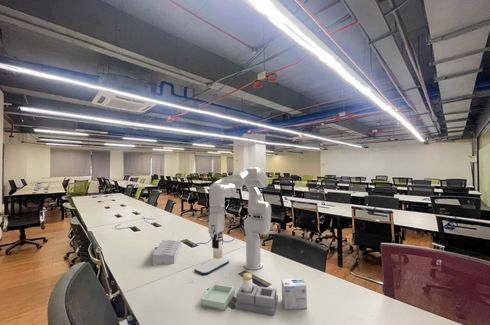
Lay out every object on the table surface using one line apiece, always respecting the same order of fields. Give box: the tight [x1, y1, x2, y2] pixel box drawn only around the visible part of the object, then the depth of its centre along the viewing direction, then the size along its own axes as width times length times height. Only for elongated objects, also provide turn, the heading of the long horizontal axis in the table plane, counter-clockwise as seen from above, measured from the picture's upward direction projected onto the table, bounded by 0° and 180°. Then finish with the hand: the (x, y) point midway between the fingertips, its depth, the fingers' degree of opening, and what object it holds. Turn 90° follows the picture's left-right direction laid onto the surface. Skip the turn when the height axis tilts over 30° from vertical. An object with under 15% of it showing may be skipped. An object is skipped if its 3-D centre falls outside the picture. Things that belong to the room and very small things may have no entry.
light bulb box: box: [280, 277, 308, 310], centre depth 101 cm, size 11×7×11 cm, turn 92°
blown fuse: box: [212, 233, 223, 259], centre depth 107 cm, size 4×4×11 cm
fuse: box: [242, 272, 253, 294], centre depth 104 cm, size 4×4×11 cm
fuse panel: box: [234, 283, 279, 316], centre depth 102 cm, size 12×18×6 cm, turn 73°
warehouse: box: [151, 239, 182, 266], centre depth 162 cm, size 30×14×8 cm, turn 8°
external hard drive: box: [194, 256, 229, 276], centre depth 142 cm, size 24×12×2 cm, turn 142°
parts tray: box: [200, 283, 236, 312], centre depth 106 cm, size 14×12×4 cm
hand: (217, 245), depth 107 cm, fingers closed on blown fuse, 4 cm apart
